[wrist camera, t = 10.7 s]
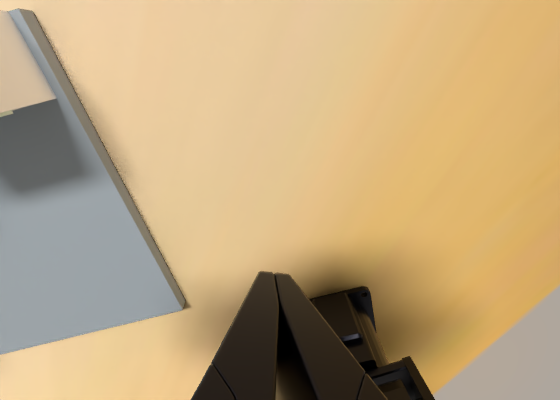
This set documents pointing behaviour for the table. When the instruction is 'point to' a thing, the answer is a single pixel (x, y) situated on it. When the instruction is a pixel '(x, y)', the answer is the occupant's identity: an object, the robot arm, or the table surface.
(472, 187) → the table surface
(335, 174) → the table surface
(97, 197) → the stand
